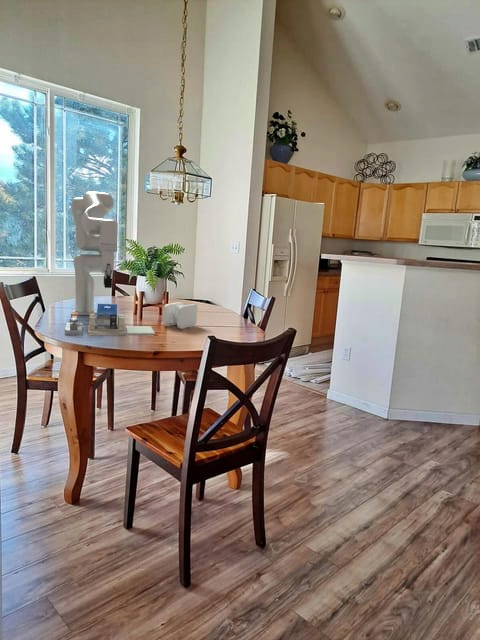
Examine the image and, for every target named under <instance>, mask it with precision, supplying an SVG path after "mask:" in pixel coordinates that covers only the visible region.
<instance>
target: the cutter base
mask: <svg viewBox="0 0 480 640" xmlns="http://www.w3.org/2000/svg"><path fill="white" fill-rule="evenodd" d="M83 326H84V323H83V322H78V323H75V324H73V323H70V322H66V323H65V328H64V335H65V336H67V335H70V336H71V335H72V336H73V335H74V336H77V335H78V336H82V335H83V329H84V328H83Z"/></svg>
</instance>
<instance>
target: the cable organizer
mask: <svg viewBox="0 0 480 640" xmlns="http://www.w3.org/2000/svg"><path fill="white" fill-rule="evenodd" d="M162 318H163V319H162V323H163V325H164V326H167V327H172V326H174V325H176V326H177V328H178V329H180V330H186V328H193V327H195V326H196V325H197V321H198V320H197V319H198V305H197V304H194V303H193V304H192V303H191V304H186V305H185V303H184V302H183V301H182V302H181V301H180V302H173V303H172V302H171V303H167V304H164V306H163V317H162Z"/></svg>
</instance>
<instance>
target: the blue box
mask: <svg viewBox="0 0 480 640" xmlns="http://www.w3.org/2000/svg"><path fill="white" fill-rule="evenodd" d="M96 311H97V313H96V324H97V329H117V324H118V303H117V304H115V303H110V304H109V303H97V309H96Z"/></svg>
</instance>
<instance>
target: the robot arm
mask: <svg viewBox="0 0 480 640" xmlns="http://www.w3.org/2000/svg"><path fill="white" fill-rule="evenodd" d="M114 203H115V202H114V198H113V196H112V195H111V194H110V193H107V192H100V191H87V192H85V193H84V194H83V196H82V197H75V198H73V199H72V200H71V205H70V208H71V213H72V217H73V221H74V224H75V242H76V243H75V245H76V248H77V250H78V251H80V252H89V253H78V254H76V255H75V256H74V257H73V267H74V277H75V283H74V284H75V286H74V287H75V291H74V309H72V311H71V312H73V313H79V315H78V316H90V314H95V315H97V309H96V310H95V280H94V277H93V276H92V275H91V274H90V273H101V274H104V275H103V285H104V286H103V287H104V288H105V289H112V288H113V277H112V276H113V274H114V268H115V253H117V252H118V235H119V233H118V231H119V225H118V221H117V220H114V219H107V218H104V217H106V216H107V215H108V214H109V213H111V211H112V210H113V208H114V205H115V204H114ZM90 252H91V254H90ZM93 252H95V253H97V254H93Z"/></svg>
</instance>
